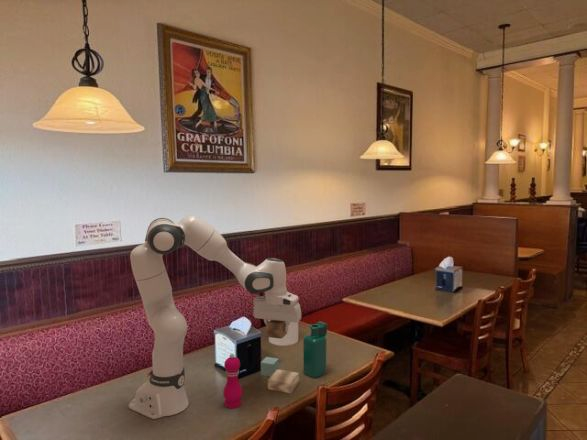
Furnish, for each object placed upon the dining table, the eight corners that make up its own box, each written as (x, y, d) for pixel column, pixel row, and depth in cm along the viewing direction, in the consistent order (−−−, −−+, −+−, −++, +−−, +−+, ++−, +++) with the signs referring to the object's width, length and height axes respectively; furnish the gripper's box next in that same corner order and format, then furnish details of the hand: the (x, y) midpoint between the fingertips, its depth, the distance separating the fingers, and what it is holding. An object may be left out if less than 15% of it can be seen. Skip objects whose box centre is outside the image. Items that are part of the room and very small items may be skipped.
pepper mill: (238, 409, 155) (237, 358, 153) (220, 407, 157) (219, 357, 155) (244, 399, 162) (244, 350, 160) (227, 397, 164) (226, 349, 162)
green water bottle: (314, 379, 179) (314, 330, 177) (301, 372, 185) (301, 324, 183) (330, 372, 185) (330, 324, 183) (317, 365, 192) (317, 319, 189)
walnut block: (268, 337, 168) (267, 322, 167) (274, 331, 173) (273, 317, 173) (281, 338, 166) (281, 324, 165) (287, 333, 171) (286, 319, 170)
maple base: (268, 388, 171) (267, 379, 170) (277, 378, 180) (277, 369, 179) (290, 393, 167) (290, 383, 167) (299, 382, 176) (299, 373, 176)
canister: (302, 336, 228) (302, 300, 226) (292, 347, 213) (291, 309, 211) (275, 332, 233) (275, 298, 231) (263, 343, 218) (263, 306, 216)
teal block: (260, 375, 183) (260, 362, 182) (266, 369, 188) (266, 356, 188) (273, 377, 181) (273, 364, 180) (278, 371, 186) (278, 358, 186)
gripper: (249, 297, 168) (251, 330, 170) (296, 301, 161) (297, 335, 163) (256, 293, 174) (258, 324, 176) (302, 297, 167) (303, 329, 168)
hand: (277, 330), depth 169 cm, fingers closed on walnut block, 6 cm apart
